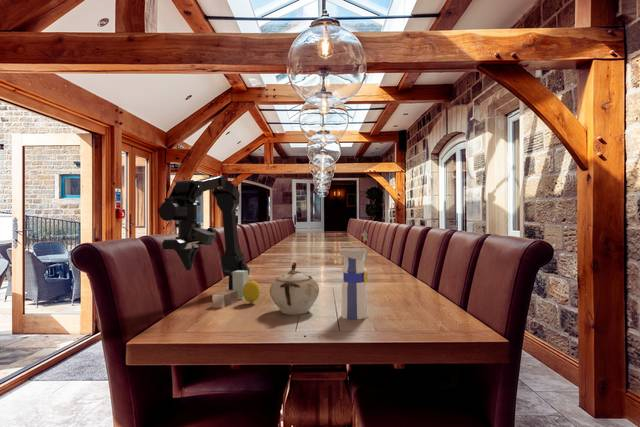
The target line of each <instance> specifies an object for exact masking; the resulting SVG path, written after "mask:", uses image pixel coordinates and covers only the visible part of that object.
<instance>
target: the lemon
mask: <svg viewBox="0 0 640 427" xmlns="http://www.w3.org/2000/svg"><path fill="white" fill-rule="evenodd" d="M260 294H261V290H260V285H259V283H258V282H257V281H255V280H253V279H249V280H248V282H246V283H245V285H244V287H243V296H244V298H245V299H244V300H245V301H247V302H249V303H250V304H254V303H255V302H256V301H257V300H258V299H259V297H260Z"/></svg>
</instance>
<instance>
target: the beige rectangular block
mask: <svg viewBox="0 0 640 427" xmlns="http://www.w3.org/2000/svg"><path fill="white" fill-rule="evenodd" d="M238 302H239V299H238V290H229V289H225V290H222V291H219V292H217V293H213V294H212V308H218V307H219V308H222V309H224V308H226V307H228V306H232V305H233V304H236V303H238Z"/></svg>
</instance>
